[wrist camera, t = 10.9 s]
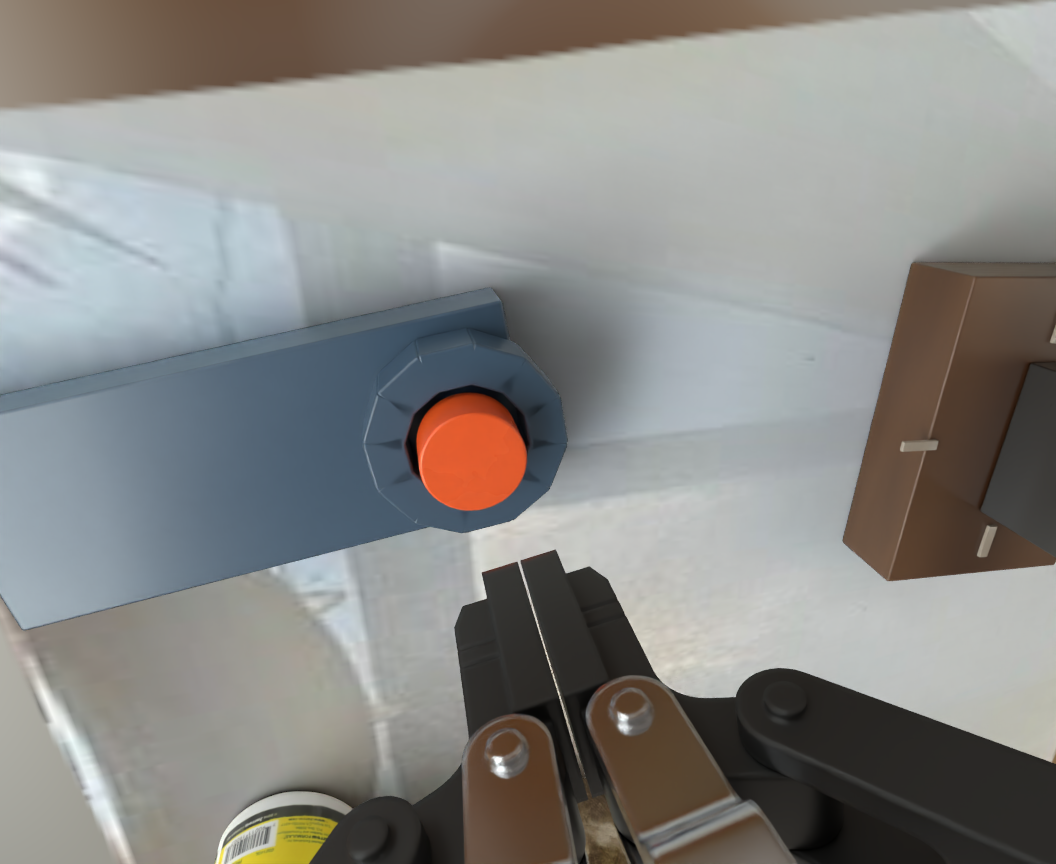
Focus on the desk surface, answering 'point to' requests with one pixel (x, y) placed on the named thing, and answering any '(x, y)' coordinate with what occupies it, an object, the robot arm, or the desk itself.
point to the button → (470, 452)
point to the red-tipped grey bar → (1029, 464)
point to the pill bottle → (281, 829)
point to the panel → (950, 419)
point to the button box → (251, 455)
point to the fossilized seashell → (600, 830)
